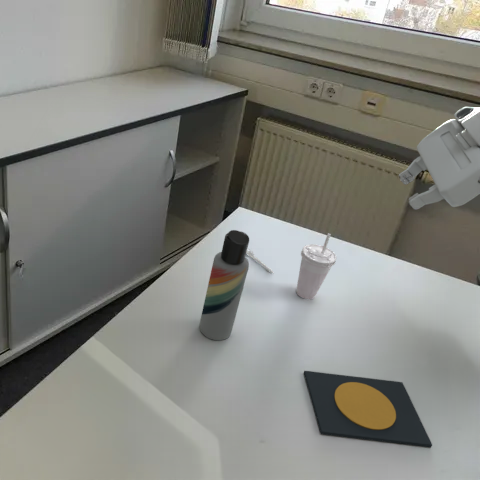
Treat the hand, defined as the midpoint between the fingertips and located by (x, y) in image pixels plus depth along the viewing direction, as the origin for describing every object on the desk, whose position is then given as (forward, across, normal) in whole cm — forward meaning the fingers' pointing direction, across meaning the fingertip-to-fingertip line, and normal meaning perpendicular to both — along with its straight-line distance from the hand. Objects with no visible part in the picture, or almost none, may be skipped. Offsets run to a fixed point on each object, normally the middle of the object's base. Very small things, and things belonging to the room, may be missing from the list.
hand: (405, 192), depth 90 cm
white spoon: (+34, +10, +2) cm, 35 cm away
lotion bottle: (+36, -15, +5) cm, 39 cm away
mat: (+22, -25, -14) cm, 36 cm away
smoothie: (+26, +2, -8) cm, 28 cm away
